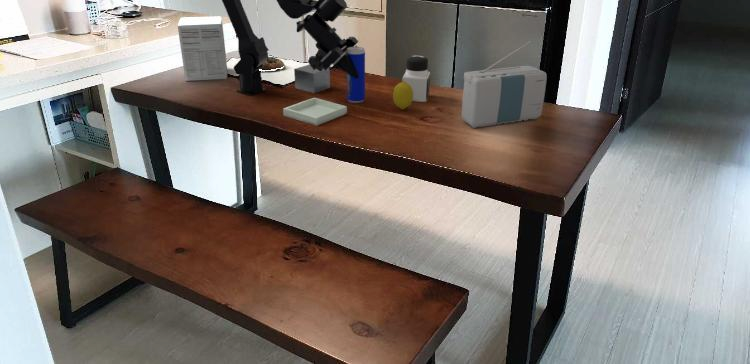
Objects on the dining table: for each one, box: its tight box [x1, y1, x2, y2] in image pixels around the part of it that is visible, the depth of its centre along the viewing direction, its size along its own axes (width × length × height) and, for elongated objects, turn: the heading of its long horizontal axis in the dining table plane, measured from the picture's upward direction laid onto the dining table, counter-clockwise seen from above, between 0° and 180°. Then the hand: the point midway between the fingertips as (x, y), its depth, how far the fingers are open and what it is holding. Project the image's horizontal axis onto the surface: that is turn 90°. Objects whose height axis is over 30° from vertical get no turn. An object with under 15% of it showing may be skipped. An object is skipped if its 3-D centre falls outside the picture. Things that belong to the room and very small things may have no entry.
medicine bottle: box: [402, 55, 431, 103], centre depth 162 cm, size 7×7×12 cm
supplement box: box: [177, 15, 228, 82], centre depth 181 cm, size 13×13×18 cm
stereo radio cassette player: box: [461, 40, 547, 129], centre depth 144 cm, size 21×8×20 cm, turn 112°
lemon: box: [392, 80, 413, 110], centre depth 154 cm, size 6×6×8 cm
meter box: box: [293, 63, 331, 94], centre depth 172 cm, size 8×7×6 cm
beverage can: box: [346, 46, 366, 104], centre depth 159 cm, size 5×5×15 cm
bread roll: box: [261, 56, 286, 70], centre depth 192 cm, size 11×11×5 cm
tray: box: [282, 97, 348, 127], centre depth 151 cm, size 12×12×2 cm
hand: (360, 75), depth 159 cm, fingers closed on beverage can, 5 cm apart
